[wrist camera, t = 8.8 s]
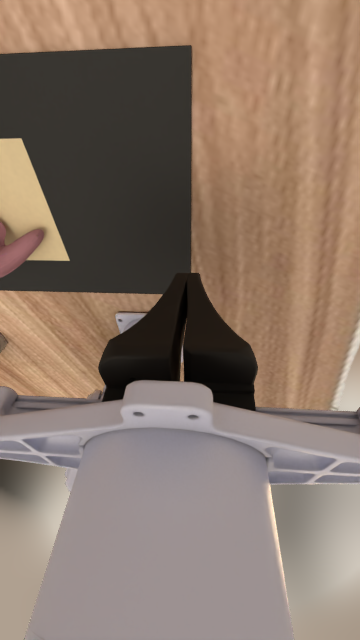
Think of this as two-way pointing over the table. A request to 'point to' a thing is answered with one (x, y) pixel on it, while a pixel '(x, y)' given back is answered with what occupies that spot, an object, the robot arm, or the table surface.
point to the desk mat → (97, 167)
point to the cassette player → (2, 342)
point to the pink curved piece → (17, 249)
